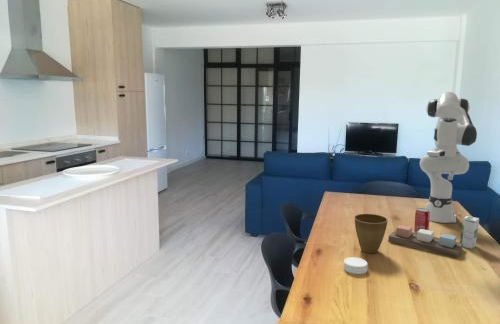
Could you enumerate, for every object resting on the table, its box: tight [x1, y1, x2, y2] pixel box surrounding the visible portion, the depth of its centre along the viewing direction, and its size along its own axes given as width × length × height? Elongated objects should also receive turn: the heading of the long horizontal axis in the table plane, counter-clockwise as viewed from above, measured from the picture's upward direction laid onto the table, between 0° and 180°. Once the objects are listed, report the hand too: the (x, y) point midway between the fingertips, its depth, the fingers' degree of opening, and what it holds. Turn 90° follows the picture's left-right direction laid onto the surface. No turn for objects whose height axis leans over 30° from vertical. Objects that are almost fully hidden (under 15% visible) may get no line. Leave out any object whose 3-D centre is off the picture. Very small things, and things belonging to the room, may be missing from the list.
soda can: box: [413, 207, 431, 233], centre depth 202 cm, size 7×7×13 cm
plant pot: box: [354, 213, 388, 254], centre depth 178 cm, size 15×15×16 cm
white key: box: [417, 229, 434, 243], centre depth 185 cm, size 6×6×4 cm
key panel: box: [387, 229, 463, 259], centre depth 186 cm, size 13×31×3 cm, turn 52°
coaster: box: [342, 256, 369, 275], centre depth 160 cm, size 10×10×4 cm
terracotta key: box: [395, 224, 413, 238], centre depth 191 cm, size 6×6×4 cm
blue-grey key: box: [439, 233, 457, 248], centre depth 179 cm, size 6×6×4 cm
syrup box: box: [459, 215, 480, 250], centre depth 184 cm, size 6×6×14 cm
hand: (442, 180), depth 183 cm, fingers open, 8 cm apart
